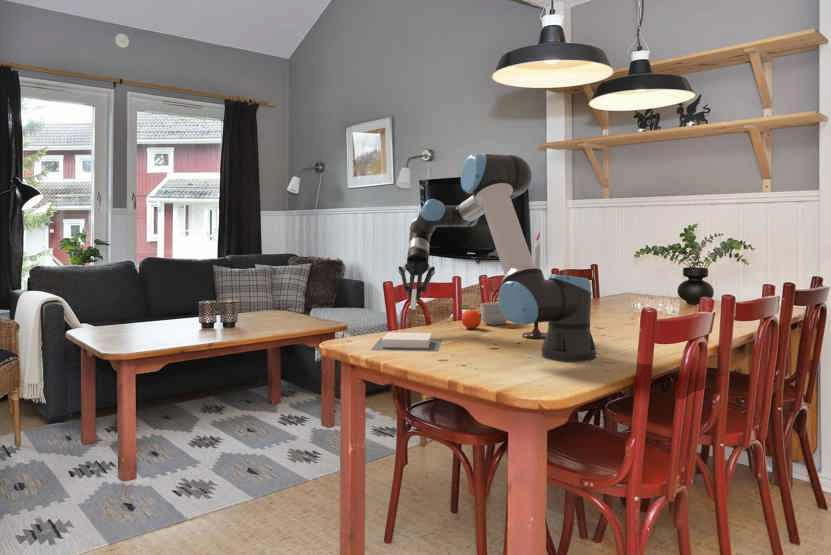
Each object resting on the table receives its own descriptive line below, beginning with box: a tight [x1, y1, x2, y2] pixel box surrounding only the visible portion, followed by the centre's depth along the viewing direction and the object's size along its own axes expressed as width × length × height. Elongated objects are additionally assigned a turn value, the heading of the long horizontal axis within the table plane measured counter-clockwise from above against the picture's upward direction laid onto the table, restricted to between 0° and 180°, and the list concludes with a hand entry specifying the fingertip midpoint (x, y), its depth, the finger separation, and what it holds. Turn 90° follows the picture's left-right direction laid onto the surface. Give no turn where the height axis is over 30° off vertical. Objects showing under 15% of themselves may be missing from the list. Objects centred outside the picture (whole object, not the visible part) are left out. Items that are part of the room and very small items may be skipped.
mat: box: [370, 337, 443, 352], centre depth 203 cm, size 20×20×1 cm
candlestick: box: [521, 231, 547, 340], centre depth 217 cm, size 11×11×35 cm
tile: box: [382, 331, 433, 349], centre depth 202 cm, size 3×14×12 cm
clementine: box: [461, 308, 482, 330], centre depth 235 cm, size 8×7×7 cm
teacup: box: [479, 301, 509, 326], centre depth 246 cm, size 14×11×8 cm
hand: (413, 306), depth 217 cm, fingers closed
